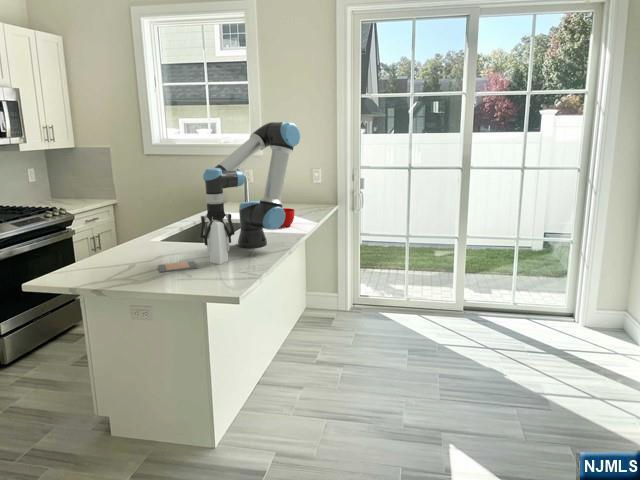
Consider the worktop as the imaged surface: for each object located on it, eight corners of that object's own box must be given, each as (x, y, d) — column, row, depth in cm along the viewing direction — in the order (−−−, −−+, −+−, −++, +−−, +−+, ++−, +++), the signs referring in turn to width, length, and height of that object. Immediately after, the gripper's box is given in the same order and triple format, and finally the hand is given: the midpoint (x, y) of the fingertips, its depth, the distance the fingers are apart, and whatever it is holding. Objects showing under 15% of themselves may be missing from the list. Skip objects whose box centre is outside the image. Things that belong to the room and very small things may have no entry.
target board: (193, 262, 236) (193, 260, 236) (197, 268, 226) (196, 266, 226) (158, 266, 230) (158, 264, 230) (159, 272, 220) (159, 271, 220)
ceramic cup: (297, 222, 321) (296, 207, 318) (293, 228, 304) (292, 212, 302) (277, 222, 322) (276, 207, 320) (272, 228, 306) (271, 212, 303)
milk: (210, 263, 234) (206, 216, 229) (218, 259, 239) (214, 214, 234) (220, 264, 232) (217, 217, 226) (228, 260, 237) (225, 214, 232)
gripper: (192, 205, 222) (196, 255, 227) (239, 202, 229) (242, 250, 234) (190, 203, 229) (194, 251, 234) (236, 199, 236) (239, 246, 241)
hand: (218, 250), depth 234 cm, fingers closed on milk, 8 cm apart
